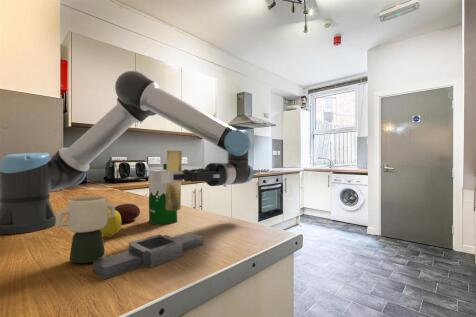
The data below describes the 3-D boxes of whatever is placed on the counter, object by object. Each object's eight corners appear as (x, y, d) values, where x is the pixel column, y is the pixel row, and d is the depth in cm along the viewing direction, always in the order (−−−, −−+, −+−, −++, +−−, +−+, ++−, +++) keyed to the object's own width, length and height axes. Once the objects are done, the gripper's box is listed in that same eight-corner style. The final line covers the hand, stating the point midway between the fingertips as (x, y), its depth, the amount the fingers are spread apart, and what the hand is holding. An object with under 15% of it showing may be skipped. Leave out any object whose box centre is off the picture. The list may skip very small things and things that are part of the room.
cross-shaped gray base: (89, 268, 46) (89, 252, 46) (184, 238, 64) (184, 227, 64) (108, 283, 40) (109, 265, 40) (207, 246, 58) (207, 234, 58)
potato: (105, 223, 80) (106, 204, 80) (133, 217, 88) (133, 200, 88) (118, 226, 76) (118, 207, 76) (145, 219, 85) (145, 202, 85)
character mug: (107, 248, 56) (108, 194, 57) (121, 256, 52) (122, 197, 52) (50, 263, 48) (51, 199, 48) (60, 274, 43) (61, 203, 44)
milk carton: (180, 221, 82) (181, 164, 82) (155, 226, 76) (155, 164, 76) (169, 217, 88) (170, 163, 89) (145, 221, 82) (145, 163, 82)
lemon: (111, 241, 62) (112, 210, 62) (93, 239, 63) (93, 209, 63) (125, 235, 67) (126, 206, 67) (108, 233, 68) (109, 205, 68)
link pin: (162, 209, 65) (163, 150, 65) (174, 207, 68) (176, 151, 68) (171, 211, 62) (172, 150, 62) (183, 209, 65) (184, 151, 66)
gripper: (238, 187, 74) (175, 194, 56) (201, 183, 84) (139, 188, 66) (239, 163, 74) (176, 163, 56) (202, 162, 85) (139, 161, 66)
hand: (156, 176), depth 61 cm, fingers closed on link pin, 4 cm apart
